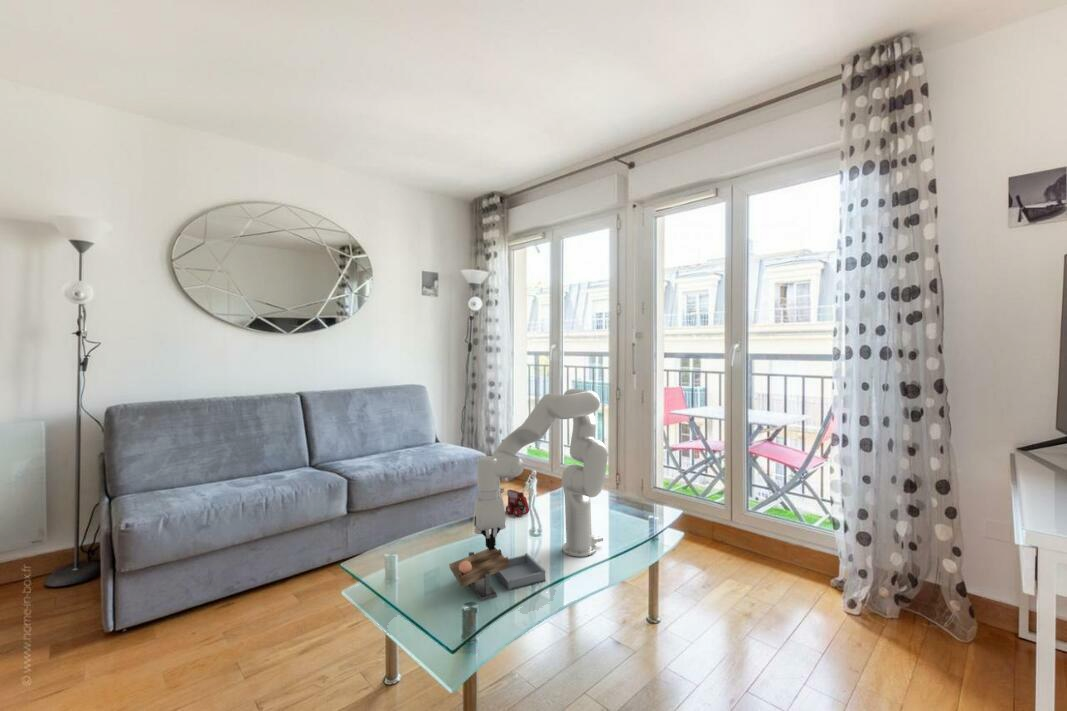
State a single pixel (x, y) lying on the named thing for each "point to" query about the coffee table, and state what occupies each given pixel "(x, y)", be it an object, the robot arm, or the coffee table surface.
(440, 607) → the coffee table surface
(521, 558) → the tray
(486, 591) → the lever stand
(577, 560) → the coffee table surface
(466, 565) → the ball
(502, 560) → the lever
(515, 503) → the red toy vehicle
